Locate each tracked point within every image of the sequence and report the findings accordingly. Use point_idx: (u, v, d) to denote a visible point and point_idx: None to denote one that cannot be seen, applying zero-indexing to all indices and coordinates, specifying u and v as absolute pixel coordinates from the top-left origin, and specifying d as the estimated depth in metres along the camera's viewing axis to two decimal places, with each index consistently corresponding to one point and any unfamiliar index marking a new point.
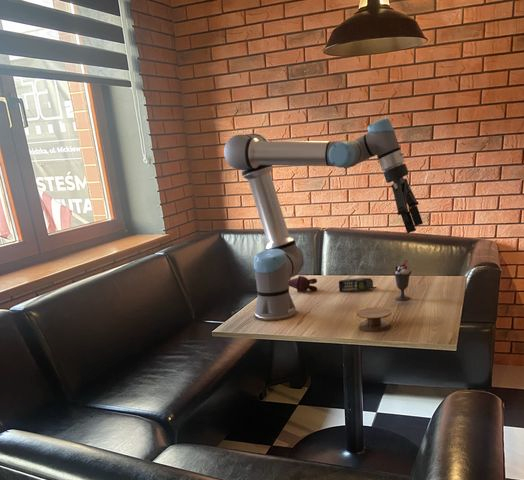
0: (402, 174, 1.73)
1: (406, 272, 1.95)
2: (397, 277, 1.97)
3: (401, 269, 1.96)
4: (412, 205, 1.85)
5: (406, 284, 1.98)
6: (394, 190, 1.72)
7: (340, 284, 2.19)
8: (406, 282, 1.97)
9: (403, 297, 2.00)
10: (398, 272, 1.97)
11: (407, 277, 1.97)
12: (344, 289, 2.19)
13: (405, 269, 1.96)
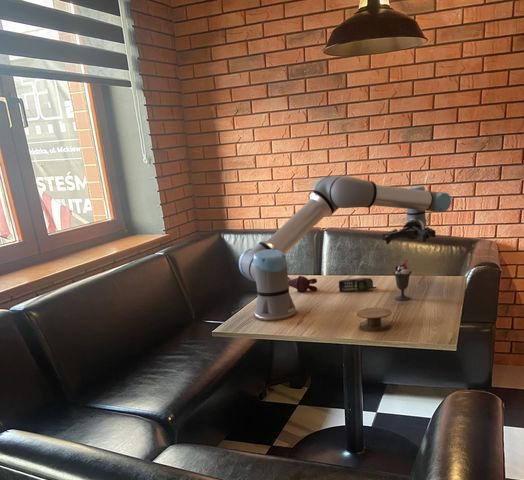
0: None
1: (406, 272, 1.95)
2: (397, 277, 1.97)
3: (401, 269, 1.96)
4: None
5: (406, 284, 1.98)
6: (428, 229, 2.11)
7: (340, 284, 2.19)
8: (406, 282, 1.97)
9: (403, 297, 2.00)
10: (398, 272, 1.97)
11: (407, 277, 1.97)
12: (344, 289, 2.19)
13: (405, 269, 1.96)
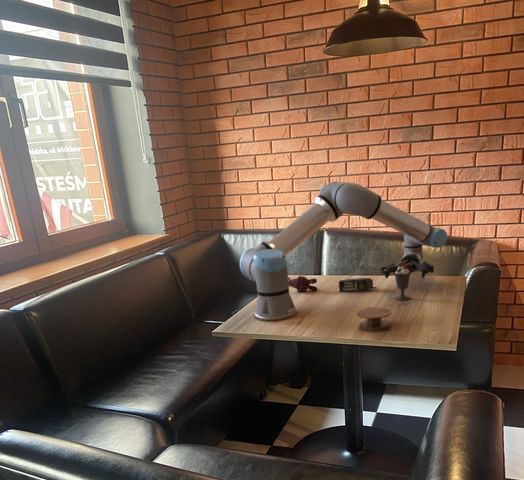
0: None
1: (406, 272, 1.95)
2: (397, 277, 1.97)
3: (401, 269, 1.96)
4: None
5: (406, 284, 1.98)
6: None
7: (340, 284, 2.19)
8: (406, 282, 1.97)
9: (403, 297, 2.00)
10: (398, 272, 1.97)
11: (407, 277, 1.97)
12: (344, 289, 2.19)
13: (405, 269, 1.96)
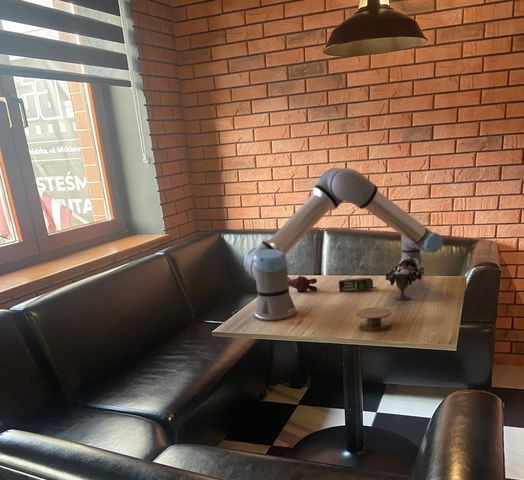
0: None
1: (406, 272, 1.95)
2: (397, 277, 1.97)
3: (400, 269, 1.96)
4: None
5: (406, 284, 1.98)
6: (422, 270, 2.05)
7: (340, 284, 2.19)
8: (406, 282, 1.97)
9: (403, 297, 2.00)
10: (398, 272, 1.97)
11: (407, 277, 1.97)
12: (344, 289, 2.19)
13: (405, 269, 1.96)
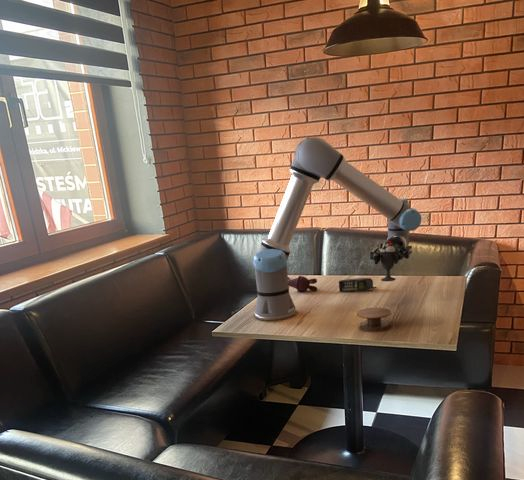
0: None
1: (392, 250, 1.77)
2: (382, 255, 1.79)
3: (386, 247, 1.78)
4: None
5: (392, 263, 1.80)
6: (409, 248, 1.87)
7: (340, 284, 2.19)
8: (392, 261, 1.79)
9: (389, 278, 1.82)
10: (383, 250, 1.79)
11: (393, 255, 1.79)
12: (344, 289, 2.19)
13: (391, 246, 1.78)
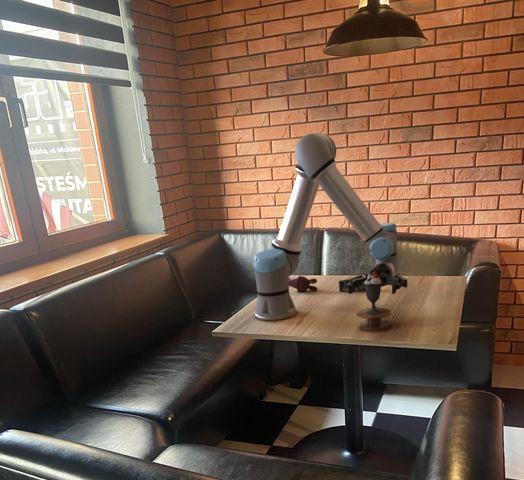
0: None
1: (377, 282, 1.67)
2: (367, 287, 1.69)
3: (371, 278, 1.68)
4: None
5: (377, 296, 1.69)
6: None
7: (340, 284, 2.19)
8: (377, 293, 1.69)
9: (374, 311, 1.72)
10: (368, 282, 1.68)
11: (378, 287, 1.68)
12: (344, 289, 2.19)
13: (376, 278, 1.67)
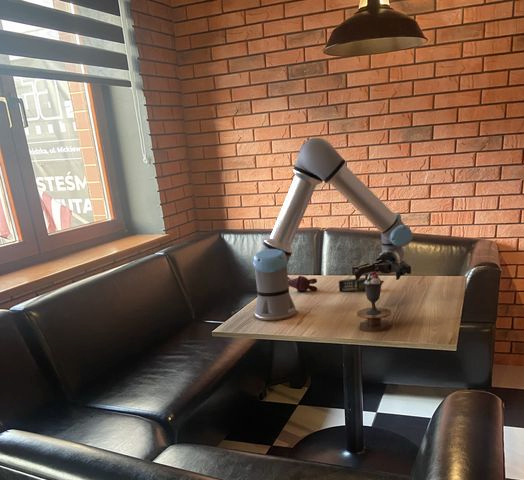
0: None
1: (377, 282, 1.67)
2: (367, 287, 1.69)
3: (371, 278, 1.68)
4: None
5: (377, 296, 1.69)
6: None
7: (340, 284, 2.19)
8: (377, 293, 1.69)
9: (374, 311, 1.72)
10: (368, 282, 1.68)
11: (378, 287, 1.68)
12: (344, 289, 2.19)
13: (376, 278, 1.67)
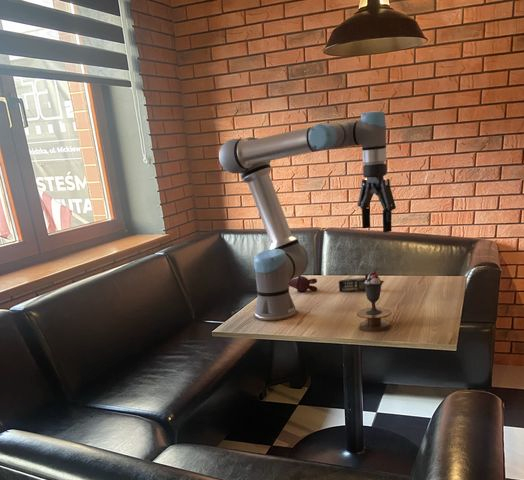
0: (386, 173, 1.72)
1: (377, 282, 1.67)
2: (367, 287, 1.69)
3: (371, 278, 1.68)
4: (365, 207, 1.84)
5: (377, 296, 1.69)
6: (384, 186, 1.69)
7: (340, 284, 2.19)
8: (377, 293, 1.69)
9: (374, 311, 1.72)
10: (368, 282, 1.68)
11: (378, 287, 1.68)
12: (344, 289, 2.19)
13: (376, 278, 1.67)
